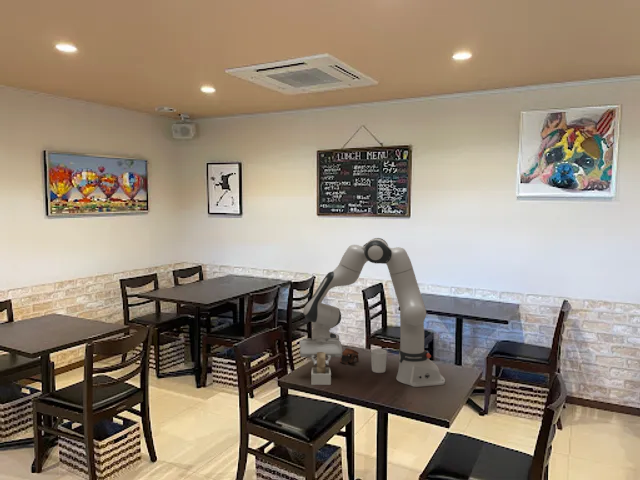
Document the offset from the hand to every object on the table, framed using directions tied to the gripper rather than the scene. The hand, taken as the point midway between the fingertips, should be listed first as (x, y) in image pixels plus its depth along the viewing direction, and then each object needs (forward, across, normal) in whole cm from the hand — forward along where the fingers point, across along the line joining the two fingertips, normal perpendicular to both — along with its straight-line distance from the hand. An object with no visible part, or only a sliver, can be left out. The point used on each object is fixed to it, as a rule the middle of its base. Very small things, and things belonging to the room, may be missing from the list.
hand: (321, 364), depth 222 cm
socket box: (+5, 0, +6) cm, 8 cm away
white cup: (-4, +29, +16) cm, 34 cm away
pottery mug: (-13, +16, +25) cm, 32 cm away
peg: (+4, 0, +5) cm, 7 cm away
